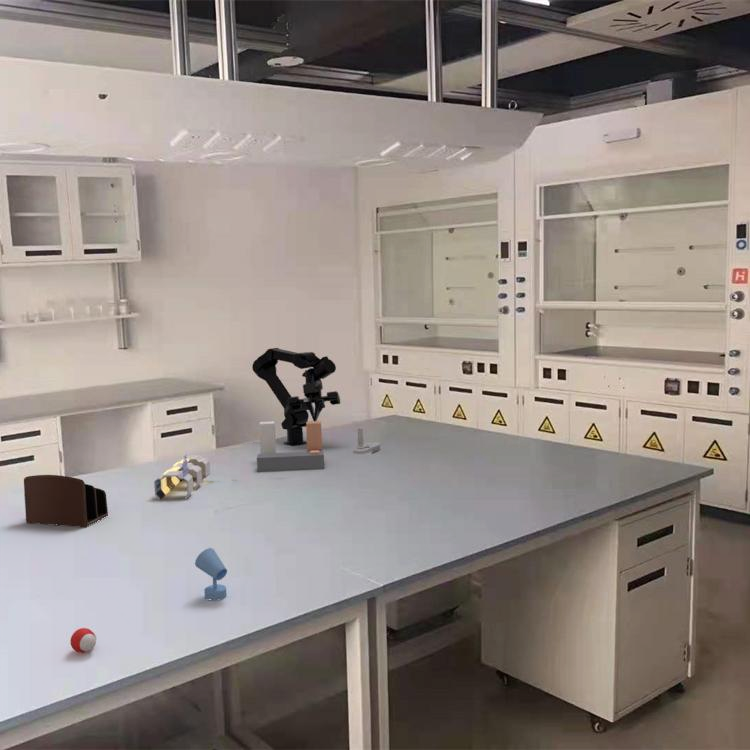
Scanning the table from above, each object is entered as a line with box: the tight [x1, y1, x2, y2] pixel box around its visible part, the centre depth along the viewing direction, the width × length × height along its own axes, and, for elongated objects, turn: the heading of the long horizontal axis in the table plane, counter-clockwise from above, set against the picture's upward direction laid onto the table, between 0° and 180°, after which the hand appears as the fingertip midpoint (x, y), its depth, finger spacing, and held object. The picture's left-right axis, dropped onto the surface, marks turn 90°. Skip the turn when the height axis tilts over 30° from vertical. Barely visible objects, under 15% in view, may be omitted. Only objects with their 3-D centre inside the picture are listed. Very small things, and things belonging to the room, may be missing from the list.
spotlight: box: [194, 547, 228, 601], centre depth 167 cm, size 5×10×7 cm
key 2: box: [305, 420, 323, 452], centre depth 271 cm, size 4×5×14 cm
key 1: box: [258, 420, 277, 454], centre depth 273 cm, size 4×5×14 cm
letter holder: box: [23, 474, 109, 528], centre depth 221 cm, size 10×20×14 cm, turn 73°
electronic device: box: [352, 428, 381, 455], centre depth 290 cm, size 5×10×15 cm
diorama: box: [153, 454, 211, 501], centre depth 250 cm, size 25×10×13 cm, turn 177°
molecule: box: [69, 627, 97, 653], centre depth 145 cm, size 5×5×4 cm
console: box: [256, 450, 325, 473], centre depth 271 cm, size 16×22×7 cm
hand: (314, 421), depth 289 cm, fingers closed
